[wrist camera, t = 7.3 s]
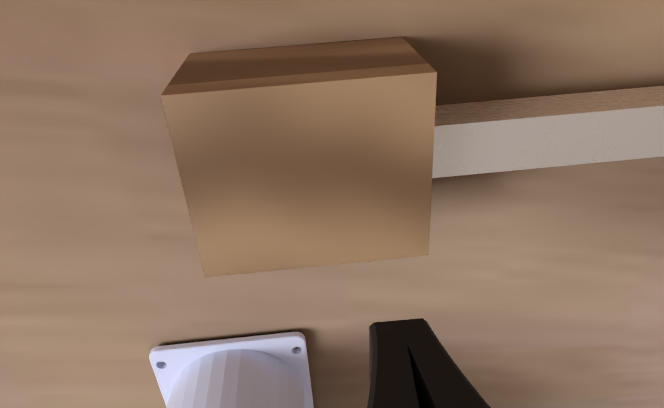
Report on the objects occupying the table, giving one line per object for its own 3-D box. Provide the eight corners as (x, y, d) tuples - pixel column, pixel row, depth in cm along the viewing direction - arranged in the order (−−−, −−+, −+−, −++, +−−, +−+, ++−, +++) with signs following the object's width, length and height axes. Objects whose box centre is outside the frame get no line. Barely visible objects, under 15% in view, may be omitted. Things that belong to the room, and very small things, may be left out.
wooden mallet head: (400, 189, 22) (428, 255, 18) (220, 206, 22) (204, 277, 17) (401, 36, 19) (436, 72, 14) (189, 54, 18) (160, 95, 14)
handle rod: (796, 136, 21) (944, 199, 16) (394, 174, 20) (427, 251, 16) (839, 41, 19) (1022, 81, 14) (394, 78, 18) (432, 134, 14)
